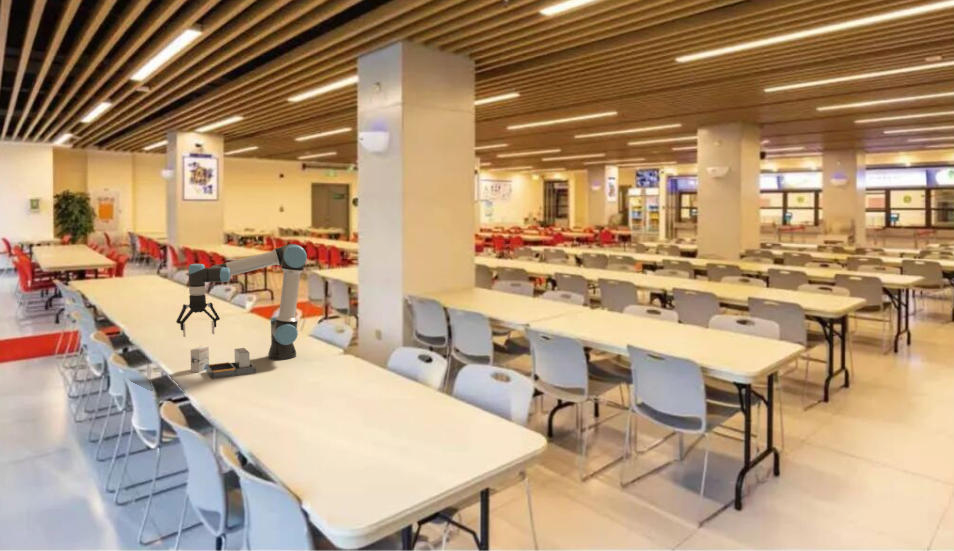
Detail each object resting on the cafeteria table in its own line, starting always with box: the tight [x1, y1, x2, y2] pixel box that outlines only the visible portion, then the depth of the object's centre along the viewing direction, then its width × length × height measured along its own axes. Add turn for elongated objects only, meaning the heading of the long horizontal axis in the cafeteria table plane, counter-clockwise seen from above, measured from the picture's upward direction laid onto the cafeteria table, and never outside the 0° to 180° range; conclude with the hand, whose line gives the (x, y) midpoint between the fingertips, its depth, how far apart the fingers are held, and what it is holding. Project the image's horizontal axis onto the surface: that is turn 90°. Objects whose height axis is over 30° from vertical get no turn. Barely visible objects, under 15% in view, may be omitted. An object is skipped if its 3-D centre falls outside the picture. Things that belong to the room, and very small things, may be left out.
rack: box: [205, 347, 257, 380], centre depth 307 cm, size 21×15×11 cm
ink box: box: [190, 345, 210, 373], centre depth 310 cm, size 9×5×12 cm, turn 168°
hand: (198, 335), depth 309 cm, fingers open, 13 cm apart
